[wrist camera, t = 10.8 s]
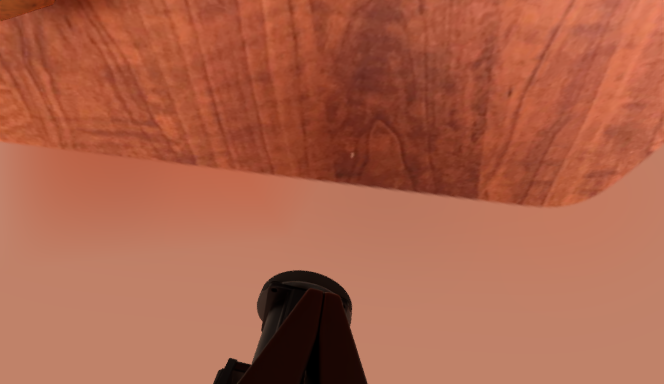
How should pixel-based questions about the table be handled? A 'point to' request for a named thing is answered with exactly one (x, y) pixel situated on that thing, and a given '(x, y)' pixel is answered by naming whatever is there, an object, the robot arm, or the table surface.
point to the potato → (20, 7)
